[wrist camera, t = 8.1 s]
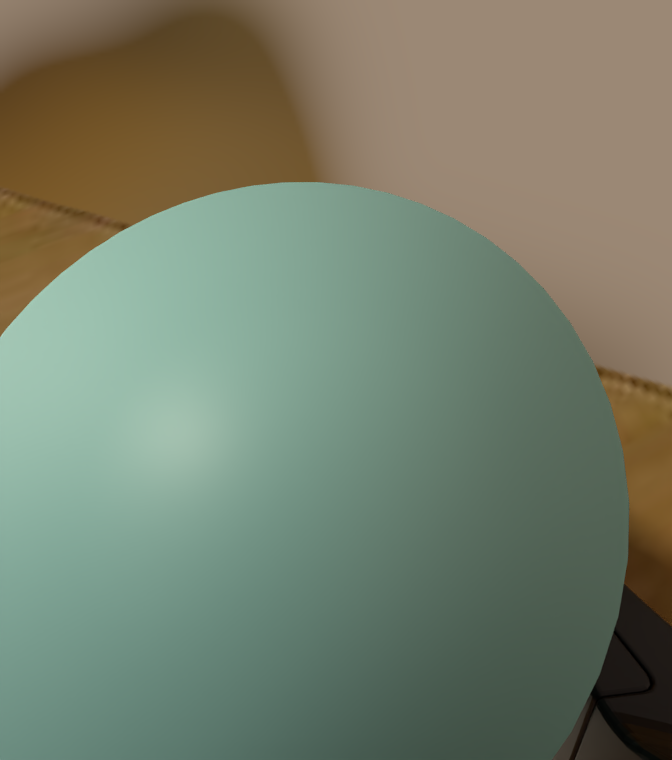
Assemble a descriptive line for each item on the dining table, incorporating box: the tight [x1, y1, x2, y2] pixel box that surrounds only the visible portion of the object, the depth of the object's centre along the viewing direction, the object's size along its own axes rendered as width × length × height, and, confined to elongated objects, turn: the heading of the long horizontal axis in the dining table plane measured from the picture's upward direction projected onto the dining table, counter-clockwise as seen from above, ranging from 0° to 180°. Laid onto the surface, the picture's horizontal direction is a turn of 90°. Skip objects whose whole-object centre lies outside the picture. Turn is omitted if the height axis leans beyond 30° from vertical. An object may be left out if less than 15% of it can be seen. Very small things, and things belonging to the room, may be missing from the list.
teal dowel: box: [0, 182, 629, 760], centre depth 9 cm, size 4×4×13 cm
